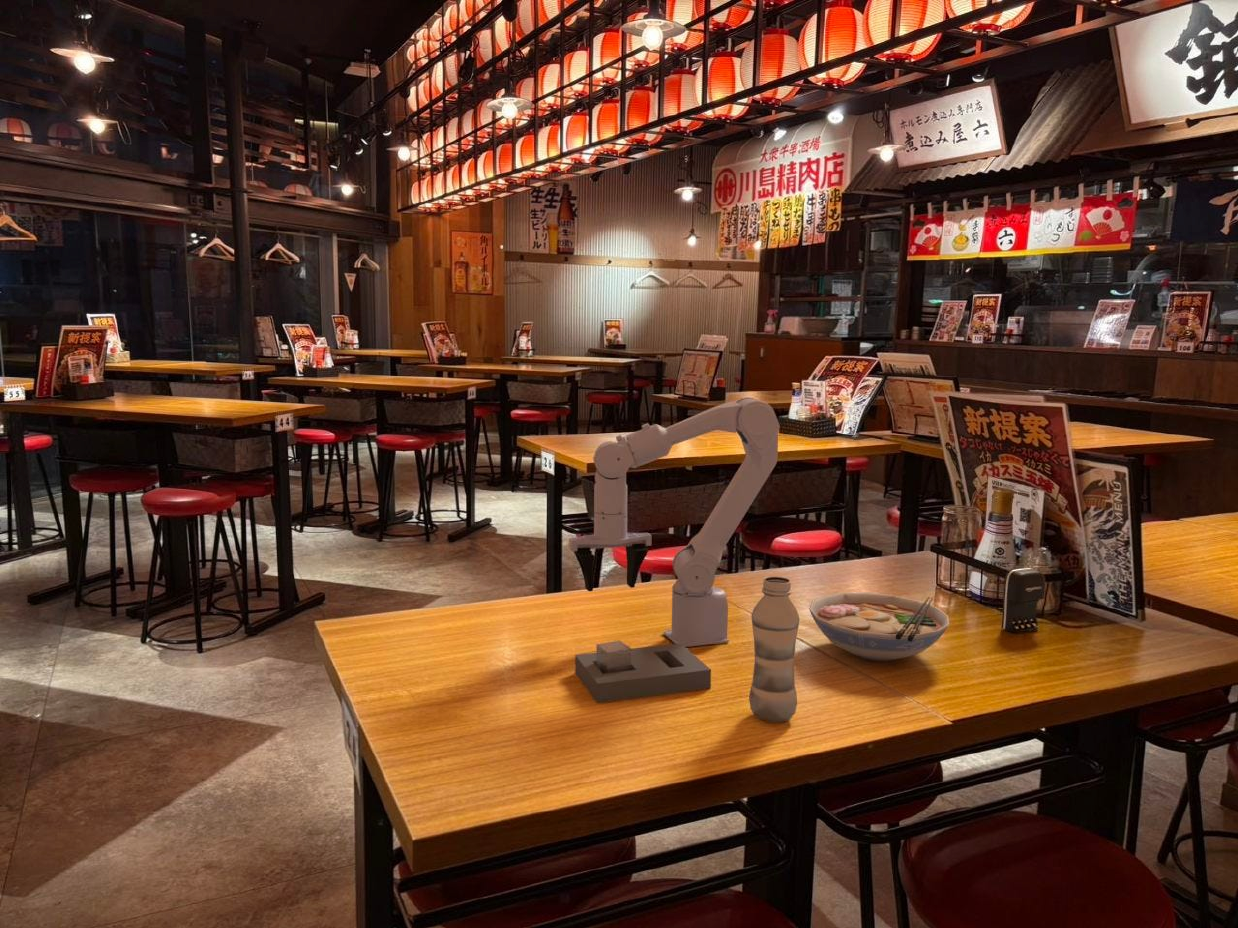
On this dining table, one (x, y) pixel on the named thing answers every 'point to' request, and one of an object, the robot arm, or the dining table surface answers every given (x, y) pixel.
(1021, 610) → the battery charger
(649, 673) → the socket block
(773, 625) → the plastic bottle
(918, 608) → the ramen bowl
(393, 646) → the dining table surface
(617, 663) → the square bit
